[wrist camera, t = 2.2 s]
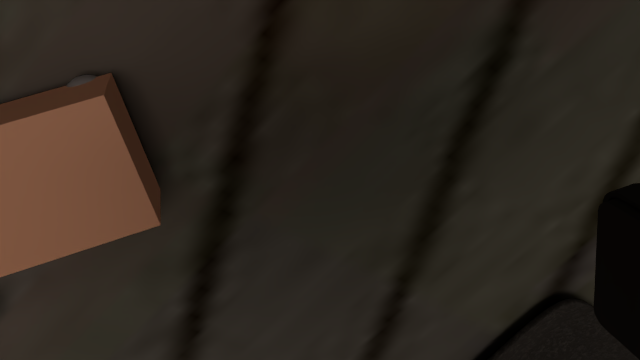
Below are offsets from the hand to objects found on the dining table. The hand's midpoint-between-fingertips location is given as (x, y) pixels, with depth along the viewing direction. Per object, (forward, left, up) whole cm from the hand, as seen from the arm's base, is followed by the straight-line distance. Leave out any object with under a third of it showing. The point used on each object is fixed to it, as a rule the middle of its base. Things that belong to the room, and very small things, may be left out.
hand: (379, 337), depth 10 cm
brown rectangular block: (+9, 0, -17) cm, 19 cm away
